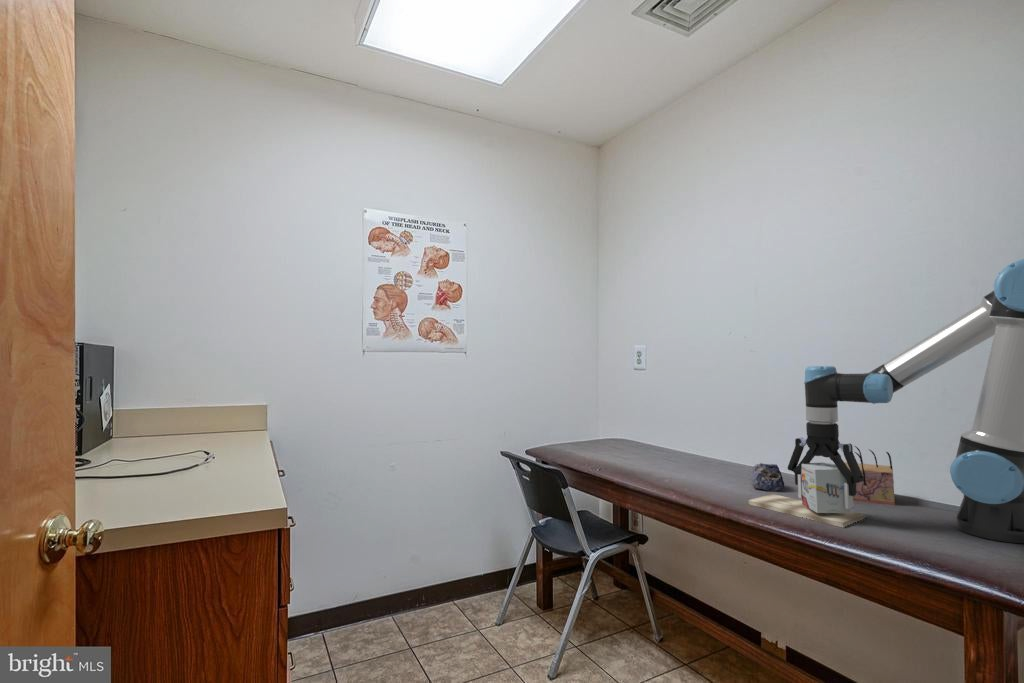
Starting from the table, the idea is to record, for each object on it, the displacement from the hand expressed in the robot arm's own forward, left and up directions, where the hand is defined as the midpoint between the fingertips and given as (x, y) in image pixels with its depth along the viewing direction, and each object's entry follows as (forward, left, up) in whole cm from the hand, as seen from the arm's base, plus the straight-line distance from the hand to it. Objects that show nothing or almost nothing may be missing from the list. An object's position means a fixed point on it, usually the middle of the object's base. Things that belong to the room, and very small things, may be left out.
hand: (824, 502), depth 138 cm
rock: (+27, -16, -4) cm, 31 cm away
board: (+6, 0, -4) cm, 7 cm away
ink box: (0, 0, -2) cm, 2 cm away
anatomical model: (+3, -28, -4) cm, 28 cm away
